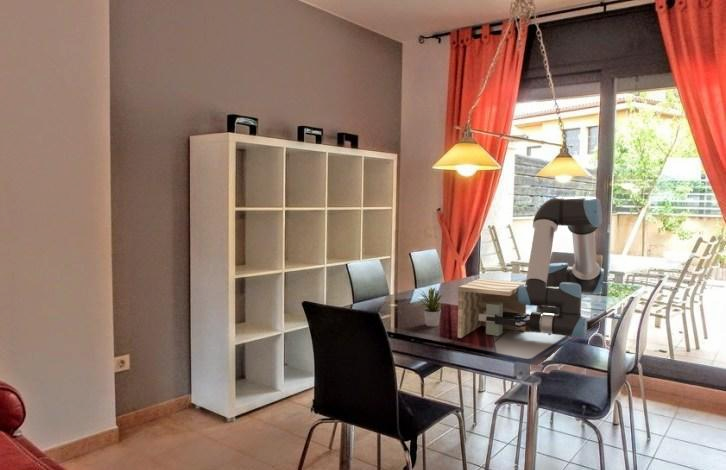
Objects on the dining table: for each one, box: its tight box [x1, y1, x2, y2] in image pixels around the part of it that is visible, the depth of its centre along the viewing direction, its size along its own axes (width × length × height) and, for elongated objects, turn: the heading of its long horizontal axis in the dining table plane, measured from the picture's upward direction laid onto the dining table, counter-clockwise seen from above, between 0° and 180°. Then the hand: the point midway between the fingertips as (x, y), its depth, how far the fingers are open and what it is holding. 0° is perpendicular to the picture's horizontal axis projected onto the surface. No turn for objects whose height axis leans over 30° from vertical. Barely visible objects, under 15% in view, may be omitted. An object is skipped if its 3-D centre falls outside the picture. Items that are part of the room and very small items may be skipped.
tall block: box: [485, 302, 503, 337], centre depth 209 cm, size 5×5×12 cm
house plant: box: [417, 286, 444, 327], centre depth 225 cm, size 14×14×16 cm
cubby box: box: [457, 278, 527, 339], centre depth 210 cm, size 24×20×20 cm
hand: (481, 315), depth 212 cm, fingers closed on tall block, 5 cm apart
